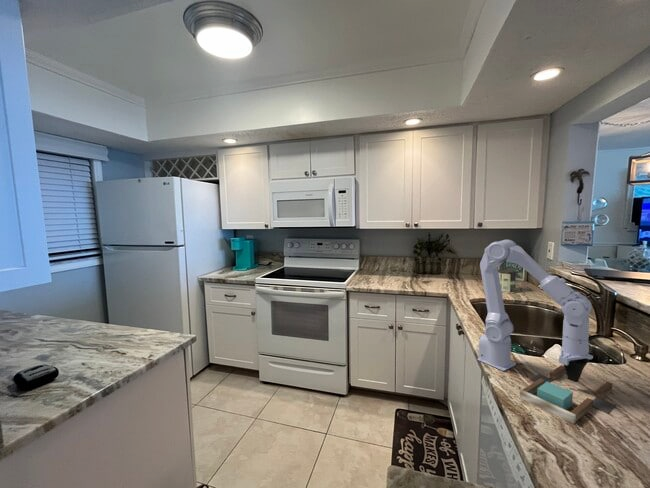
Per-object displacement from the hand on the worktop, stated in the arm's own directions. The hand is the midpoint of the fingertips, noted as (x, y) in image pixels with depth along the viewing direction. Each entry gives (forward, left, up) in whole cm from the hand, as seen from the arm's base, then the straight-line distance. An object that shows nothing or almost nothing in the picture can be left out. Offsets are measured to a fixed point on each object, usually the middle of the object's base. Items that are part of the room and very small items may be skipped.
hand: (572, 380), depth 84 cm
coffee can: (-68, +92, -3) cm, 114 cm away
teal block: (0, -12, -3) cm, 12 cm away
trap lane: (0, -3, -3) cm, 4 cm away
